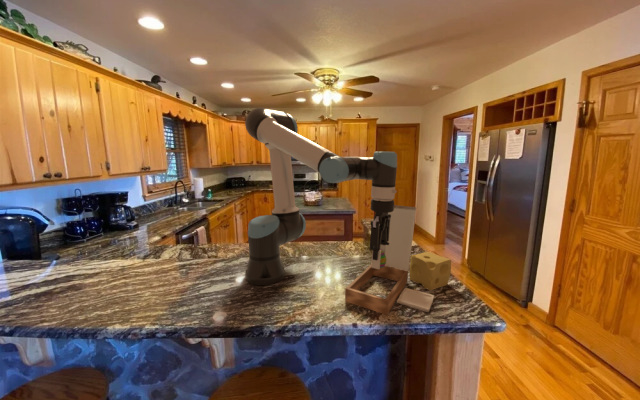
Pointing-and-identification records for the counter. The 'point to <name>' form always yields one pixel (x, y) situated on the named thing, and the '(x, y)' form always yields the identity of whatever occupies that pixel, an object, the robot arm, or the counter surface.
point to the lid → (400, 237)
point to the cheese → (430, 270)
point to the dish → (416, 299)
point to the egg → (382, 259)
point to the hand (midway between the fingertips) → (378, 265)
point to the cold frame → (371, 300)
